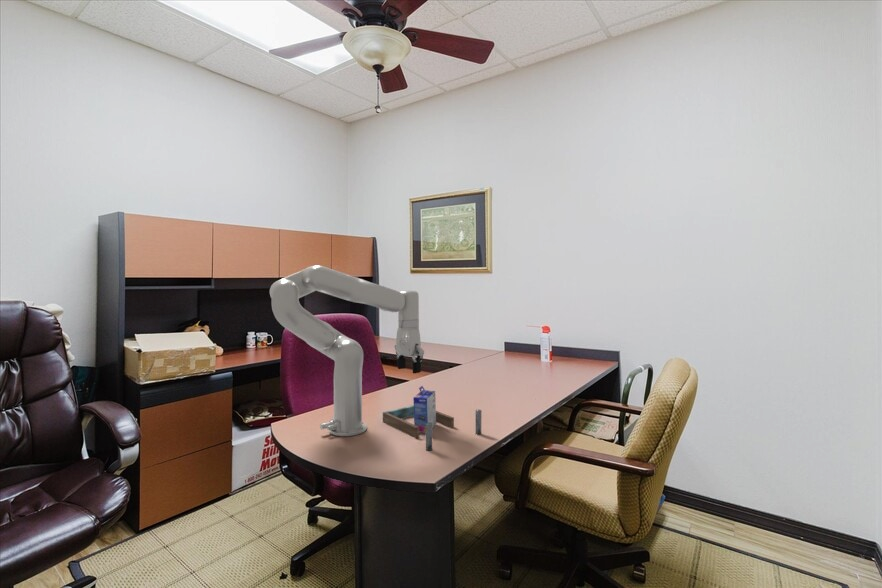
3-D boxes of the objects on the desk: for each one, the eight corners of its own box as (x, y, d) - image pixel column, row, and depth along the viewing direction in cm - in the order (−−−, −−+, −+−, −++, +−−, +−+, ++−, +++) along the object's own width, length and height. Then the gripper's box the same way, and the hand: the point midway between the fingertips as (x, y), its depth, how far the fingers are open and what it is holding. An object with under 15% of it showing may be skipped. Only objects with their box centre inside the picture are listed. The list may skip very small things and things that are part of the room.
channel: (416, 438, 137) (416, 427, 137) (382, 421, 154) (382, 412, 154) (453, 427, 148) (453, 417, 148) (418, 413, 164) (418, 404, 164)
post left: (428, 451, 127) (428, 425, 126) (424, 449, 128) (424, 423, 128) (433, 449, 128) (433, 423, 128) (429, 447, 130) (429, 422, 129)
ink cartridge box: (422, 422, 153) (421, 383, 152) (436, 424, 151) (436, 384, 151) (412, 432, 143) (412, 390, 143) (428, 433, 142) (428, 391, 141)
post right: (478, 435, 140) (478, 411, 140) (474, 433, 141) (474, 410, 141) (482, 434, 141) (482, 410, 141) (478, 432, 143) (478, 409, 143)
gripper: (387, 323, 158) (387, 368, 159) (414, 327, 145) (414, 376, 146) (403, 322, 163) (404, 365, 164) (431, 325, 150) (431, 373, 150)
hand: (409, 370), depth 155 cm, fingers open, 9 cm apart
